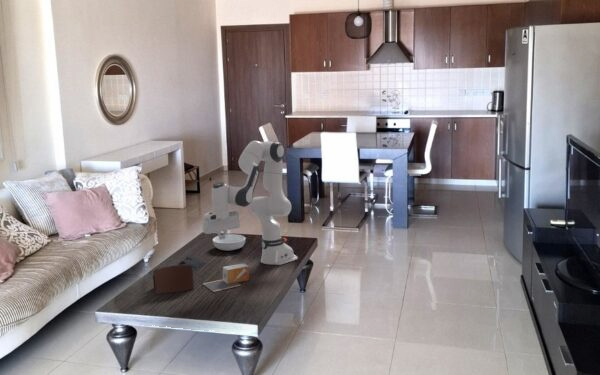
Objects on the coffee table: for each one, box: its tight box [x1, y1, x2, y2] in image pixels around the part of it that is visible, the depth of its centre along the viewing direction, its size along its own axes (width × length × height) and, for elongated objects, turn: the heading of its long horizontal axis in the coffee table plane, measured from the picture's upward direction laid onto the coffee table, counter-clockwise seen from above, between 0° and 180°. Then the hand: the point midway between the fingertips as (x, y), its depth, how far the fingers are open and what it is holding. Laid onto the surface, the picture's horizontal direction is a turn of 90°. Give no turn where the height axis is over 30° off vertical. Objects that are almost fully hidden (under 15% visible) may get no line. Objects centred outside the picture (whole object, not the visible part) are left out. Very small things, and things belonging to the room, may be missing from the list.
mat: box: [202, 278, 242, 293], centre depth 313 cm, size 16×14×1 cm
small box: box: [222, 262, 250, 284], centre depth 318 cm, size 8×6×13 cm
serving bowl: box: [212, 233, 247, 252], centre depth 376 cm, size 21×21×7 cm
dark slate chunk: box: [177, 255, 205, 274], centre depth 342 cm, size 15×22×5 cm
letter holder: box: [152, 264, 195, 295], centre depth 309 cm, size 10×20×14 cm, turn 109°
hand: (222, 238), depth 311 cm, fingers closed
